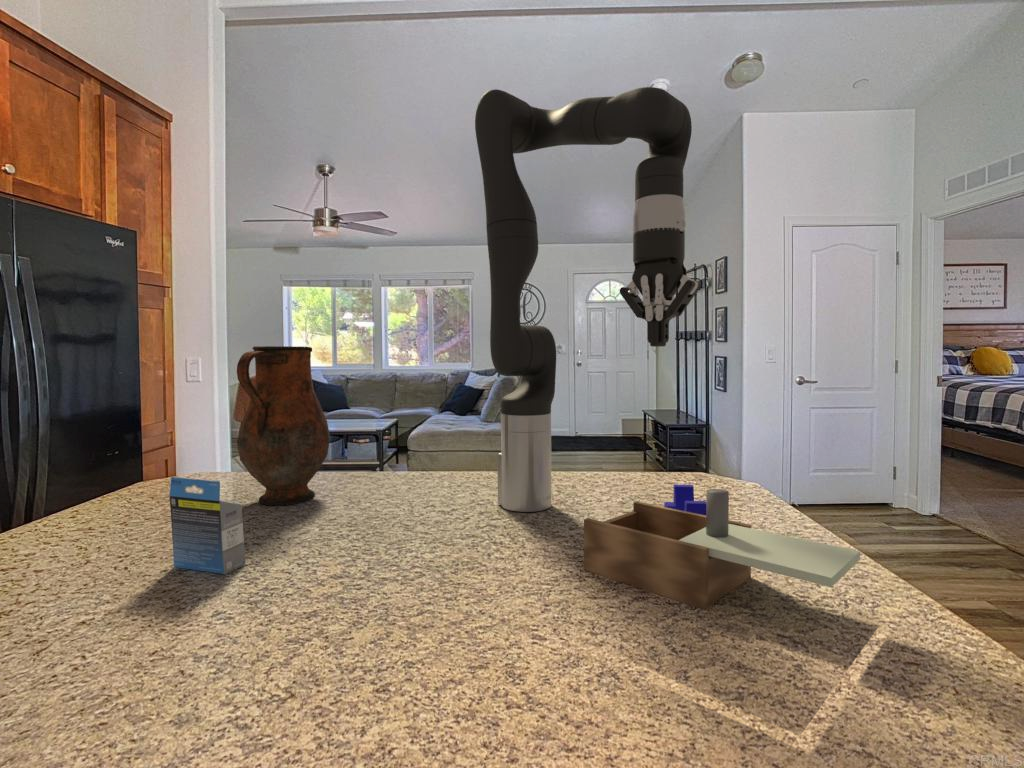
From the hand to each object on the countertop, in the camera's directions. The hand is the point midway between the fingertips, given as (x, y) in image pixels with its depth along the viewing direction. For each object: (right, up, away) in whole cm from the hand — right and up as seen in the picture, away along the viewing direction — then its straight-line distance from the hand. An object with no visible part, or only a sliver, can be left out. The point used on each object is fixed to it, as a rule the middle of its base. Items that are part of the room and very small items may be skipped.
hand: (658, 346), depth 86 cm
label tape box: (-63, -30, -11) cm, 70 cm away
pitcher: (-67, -29, +23) cm, 76 cm away
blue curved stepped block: (+5, -29, +4) cm, 30 cm away
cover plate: (+5, -24, -25) cm, 35 cm away
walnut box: (-3, -30, -16) cm, 34 cm away
